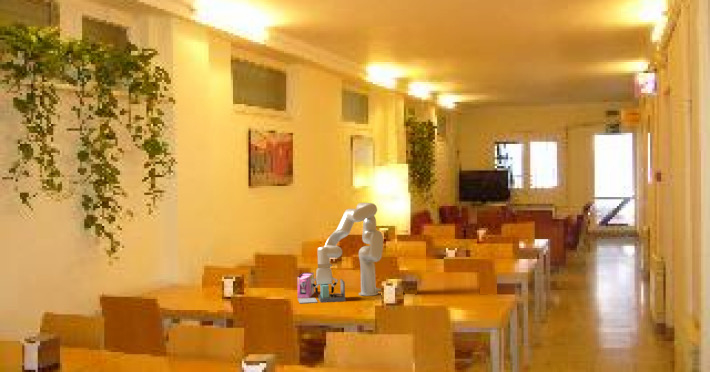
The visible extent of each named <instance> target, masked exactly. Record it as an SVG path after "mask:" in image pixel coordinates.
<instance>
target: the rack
mask: <svg viewBox="0 0 710 372" xmlns="http://www.w3.org/2000/svg"><path fill="white" fill-rule="evenodd" d="M339 280H340V294H341V295H343V297H336V298H333V293H329V298H321V294H317V295H318V297H317V298H318V301H319V302H320V303H336V302H338V303H340V302H346V287H345V285H346V284H345V283H346V282H345V281H344V280H343V278H340V279H339Z"/></svg>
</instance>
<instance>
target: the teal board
mask: <svg viewBox="0 0 710 372" xmlns="http://www.w3.org/2000/svg"><path fill="white" fill-rule="evenodd" d="M319 286H320V295H321V298H329V294H330V292H329V291H330V290H329V289H330V287H329V284H325V285H319Z"/></svg>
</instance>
